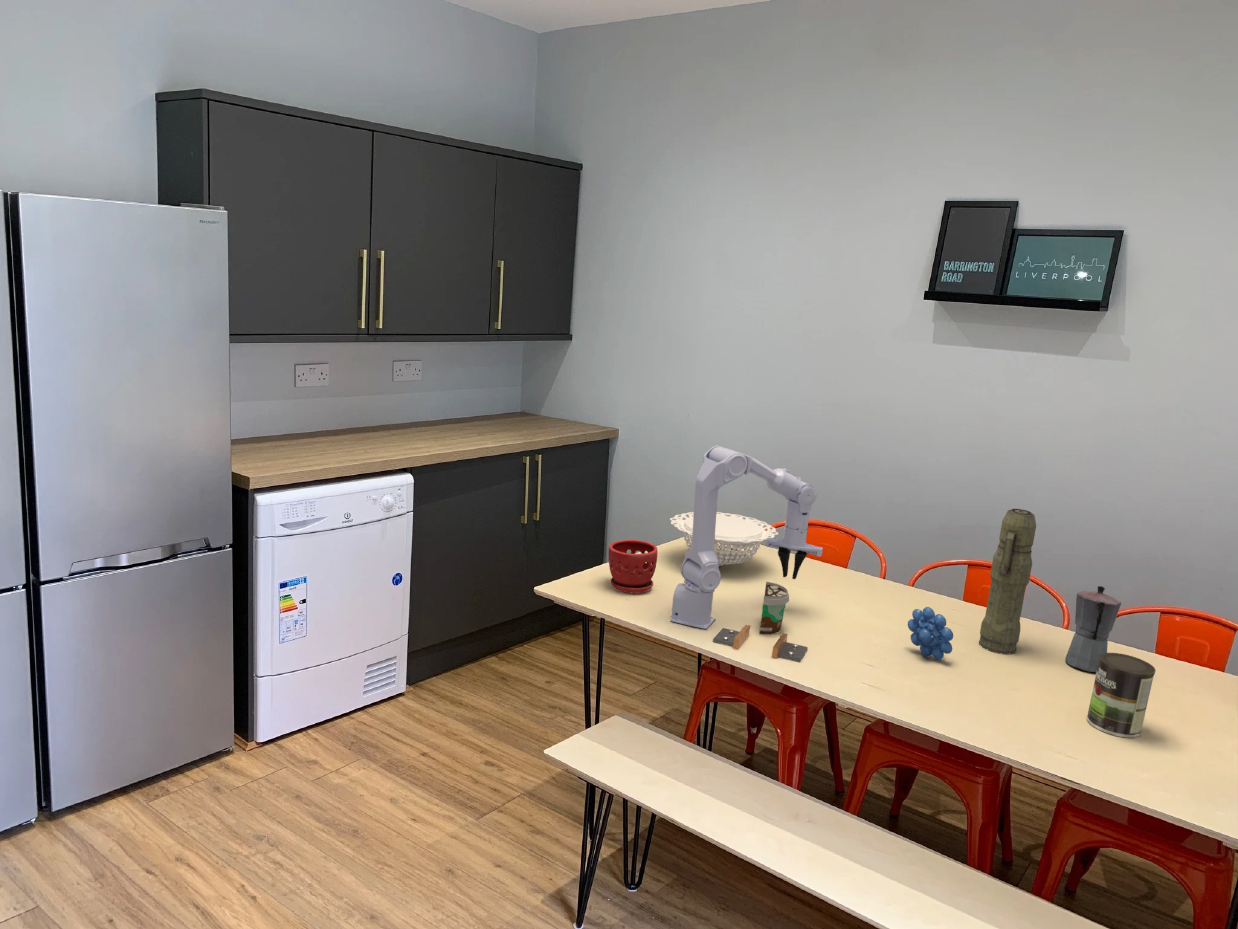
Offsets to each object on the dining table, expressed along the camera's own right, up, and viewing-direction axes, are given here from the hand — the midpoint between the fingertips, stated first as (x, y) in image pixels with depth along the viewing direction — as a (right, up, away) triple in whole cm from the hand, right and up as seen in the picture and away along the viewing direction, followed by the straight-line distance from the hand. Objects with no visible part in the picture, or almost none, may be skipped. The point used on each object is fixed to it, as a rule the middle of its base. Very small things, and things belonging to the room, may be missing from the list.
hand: (789, 577), depth 240 cm
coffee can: (+58, -25, -49) cm, 80 cm away
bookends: (-11, -13, -23) cm, 29 cm away
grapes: (+28, -17, -21) cm, 39 cm away
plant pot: (-42, -4, +10) cm, 43 cm away
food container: (-6, -12, -11) cm, 17 cm away
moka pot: (+68, -19, -19) cm, 73 cm away
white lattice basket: (-15, -1, +35) cm, 38 cm away
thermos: (+50, -16, -11) cm, 53 cm away
